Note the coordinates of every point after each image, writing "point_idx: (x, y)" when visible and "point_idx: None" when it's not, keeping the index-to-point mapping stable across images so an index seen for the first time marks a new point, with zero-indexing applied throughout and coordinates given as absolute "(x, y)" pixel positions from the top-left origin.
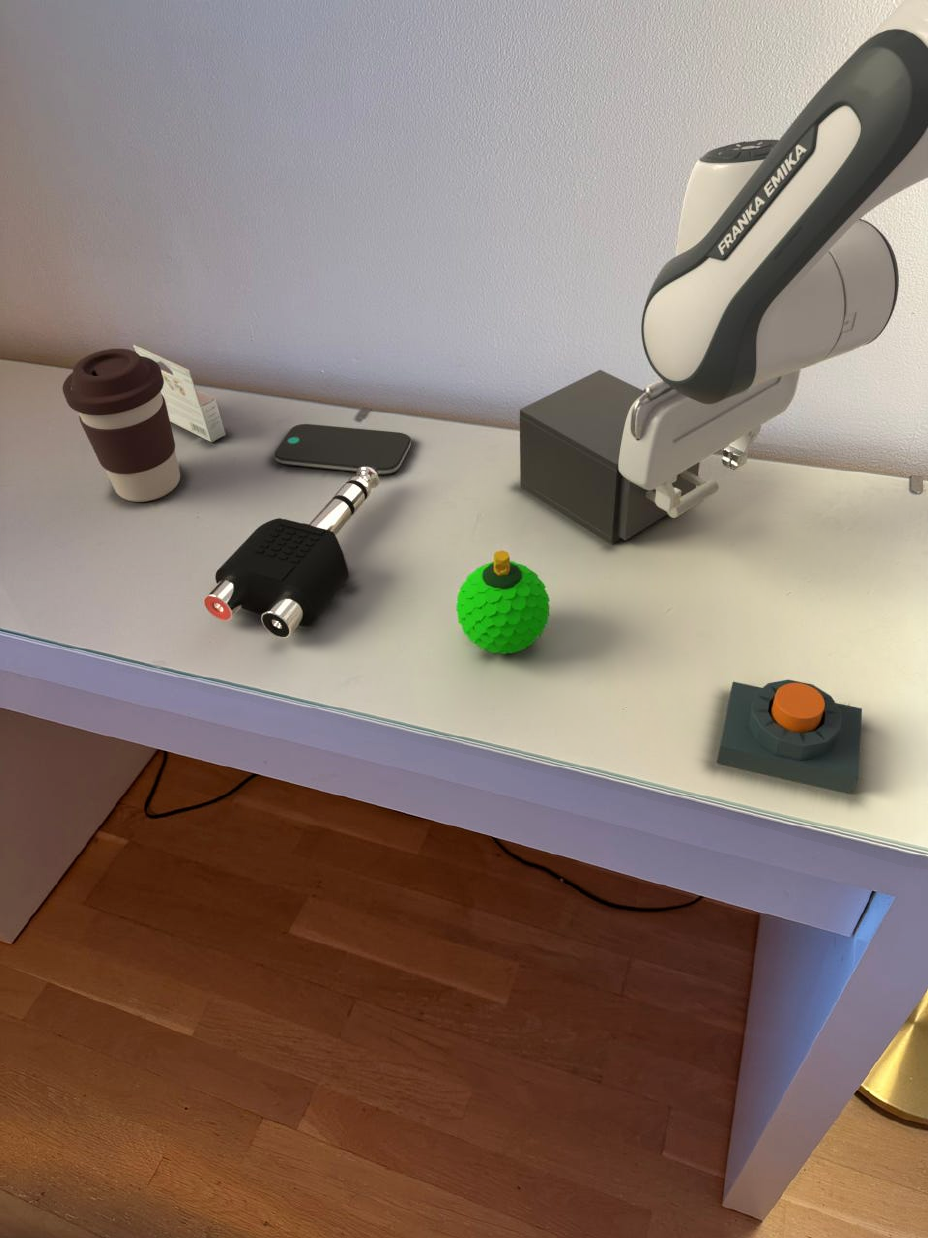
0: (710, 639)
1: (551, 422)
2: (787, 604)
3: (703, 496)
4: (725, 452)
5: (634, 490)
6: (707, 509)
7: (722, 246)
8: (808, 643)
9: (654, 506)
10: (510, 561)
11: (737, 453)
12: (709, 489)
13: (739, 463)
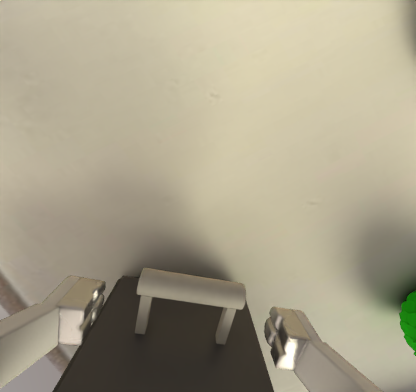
0: (338, 142)
1: None
2: (235, 87)
3: (182, 279)
4: (86, 333)
5: (255, 366)
6: (124, 252)
7: None
8: (292, 27)
9: (199, 307)
10: None
11: (74, 315)
12: (163, 281)
13: (88, 287)
